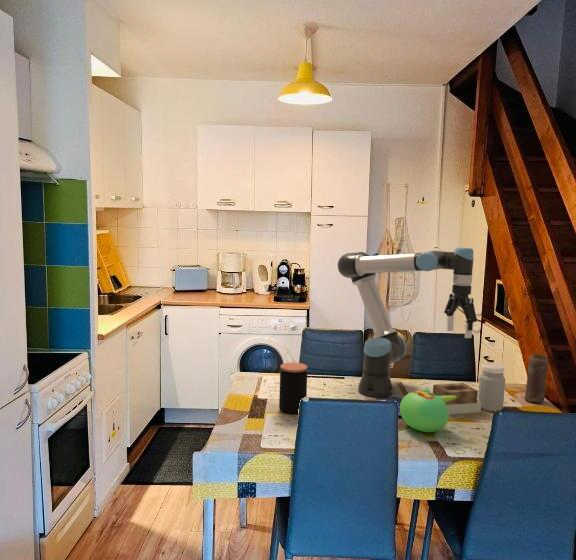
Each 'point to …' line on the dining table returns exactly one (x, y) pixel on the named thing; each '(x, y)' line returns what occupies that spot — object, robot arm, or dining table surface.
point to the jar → (491, 387)
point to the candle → (536, 378)
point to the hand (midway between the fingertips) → (458, 334)
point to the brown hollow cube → (456, 393)
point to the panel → (464, 408)
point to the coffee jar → (292, 387)
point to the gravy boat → (425, 410)
